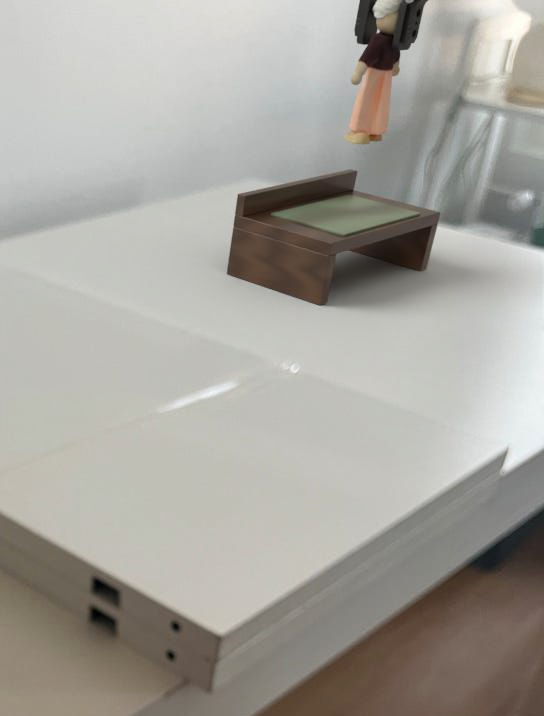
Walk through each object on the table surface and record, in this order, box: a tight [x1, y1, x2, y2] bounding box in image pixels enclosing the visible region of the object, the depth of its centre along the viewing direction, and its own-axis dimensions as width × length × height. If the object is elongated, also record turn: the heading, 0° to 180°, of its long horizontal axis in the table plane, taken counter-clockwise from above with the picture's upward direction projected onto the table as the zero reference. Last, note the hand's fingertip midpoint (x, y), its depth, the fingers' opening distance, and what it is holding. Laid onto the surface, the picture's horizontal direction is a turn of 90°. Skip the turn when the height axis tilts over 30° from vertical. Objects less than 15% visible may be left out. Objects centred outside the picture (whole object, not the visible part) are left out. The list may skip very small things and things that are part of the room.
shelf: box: [226, 168, 441, 306], centre depth 109 cm, size 12×20×8 cm, turn 133°
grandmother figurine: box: [343, 0, 405, 146], centre depth 98 cm, size 8×4×13 cm, turn 147°
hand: (383, 45), depth 98 cm, fingers closed on grandmother figurine, 3 cm apart
